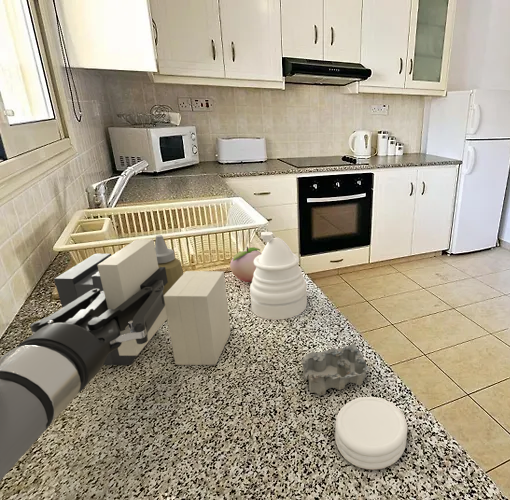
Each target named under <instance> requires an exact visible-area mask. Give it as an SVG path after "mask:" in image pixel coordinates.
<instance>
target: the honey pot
mask: <svg viewBox="0 0 510 500" xmlns="http://www.w3.org/2000/svg"><path fill="white" fill-rule="evenodd" d="M273 236H274V233H273V232H272V231H263V232H261V233H260V237H261V239H262V241H264V242H265V243H266V244H265V246H264V247H263V248H262V251H261V252H260V253H261V255H258V256H257V257H256V258H255V259H254V265H255V266H256V270H255V271H254V274H253V275H254V277H253V279H252V281H251V282H250V285H249V293H250V307H251V311H252V313H253V314H254V315H256V316H257V317H259V318H262V319H265V320H270V321H271V320H272V321H279V320H280V321H281V320H287V319H290V318H294V317H296V316H298V315H300V314H302V313H303V312H304V311H305V310H306V308H307V307H308V306H307V305H308V292H307V290H308V289H307V282H306V280H305V278H304V275H303V273H302V272H303V271H302V268H301V267H300V266H299V263H300V262H299V261H300V258H299V256H298V255H297V254H296V253H294V252H293V251H292V249H291V248H290V246H289V245H288V244H287V242H286V241H284V239H283V238H280V237H273Z"/></svg>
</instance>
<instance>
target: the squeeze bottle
mask: <svg viewBox="0 0 510 500" xmlns="http://www.w3.org/2000/svg"><path fill="white" fill-rule="evenodd" d="M154 245H155V251H156V256H157V262H158V267H159V268H160V267H165V269H166V275H167V280H168V283H167V284H166V285H165V286H164V290H163V295H165V294H166V292H167V291H168V290H169V289H170V288H171V287H172V286H173V285H174V284H175V283H176V282H177V280H178V279H179V278H180V277H181V276H182V275H183V274H184V273H185V272H184V269H183V265H182V262H181V260H180V259H178V258H176V255H175V250H173V249H172V248H168V246H167V243H166V242H165V239H164V236H163V234H158V235H155V241H154Z"/></svg>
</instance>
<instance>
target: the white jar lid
mask: <svg viewBox="0 0 510 500" xmlns="http://www.w3.org/2000/svg"><path fill="white" fill-rule="evenodd" d="M334 423H335V425H334V433H335V434H334V440H335V444H336V447H337V450H338V451H339V453H340V454H341V456H342V457H343V458H344V459H345V461H347V462H349V463H350V464H352V465H354V466H355V467H357V468H360V469H364V470H371V471H372V470H382V469H385V468H388V467H390V466H393V465H394V464H395V463H397V461H398V460H399V459H400V458H401V457H402V456H403V454H404V452H405V449H406V446H407V438H408V422H407V420H406V417H405V414H404V413H403V412H402V411H401V409H400V408H399V407H398V406H396V405H395V404H394V403H393V402H391V401H389V400H386V399H384V398H381V397H377V396H362V397H357V398H355V399H352V400H350V401H348V402H347V403H345V404H344V405H343V406H342V407H341V408H340V410H339V411H338V413H337V415H336V418H335V422H334Z"/></svg>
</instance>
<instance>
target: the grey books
mask: <svg viewBox="0 0 510 500" xmlns="http://www.w3.org/2000/svg"><path fill="white" fill-rule="evenodd" d="M110 256H112V253H94V254H92V255H90V256H89V257H87V258H86V259H84V260H82V261H81V262H78V263H77V264H75V265H74V266H73V267H70V268H69V269H67V270H66V271H64V272H62V273H61V274H60V275H58V276H56V277H54V278H53V281H54V284H55V287H56V291H57V294H58V298H59V301H60V304H61V308H63V307H65V306H66V305H68V304H69V303H71V302H73V301H74V300H76V299H77V298H79V297H81V296H82V295H84V294H85V293H87V292H89V291H90V290H92V289H100V291H104V290H103V286H102V282H101V278H100V274H99V270H98V266H97V265H98V264H99V263H101V262H103V261H104V260H106V259H107V258H109V257H110ZM90 302H91V303H92V299H91V300H90ZM158 331H159V329H158V330H157V332H158ZM155 335H156V333H155V334H154V335H153V337H154V336H155ZM151 340H152V338H151V339H150V340H149V342H150V341H151ZM147 345H148V343H147V344H146V345H145V347H146V346H147ZM143 350H144V348H143V349H142V350H141V351H140V353H142V351H143ZM140 353H139V354H138V355H137V356H120V355H119V352H118V348H117V349H115V350H113V351H112V352H110V353H109V354H108V355H107V357H106V359H105V362H104V364H103V366H131V365H132V364H133V362H135V360H136V358H137V357H138V356H139V355H140Z"/></svg>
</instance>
